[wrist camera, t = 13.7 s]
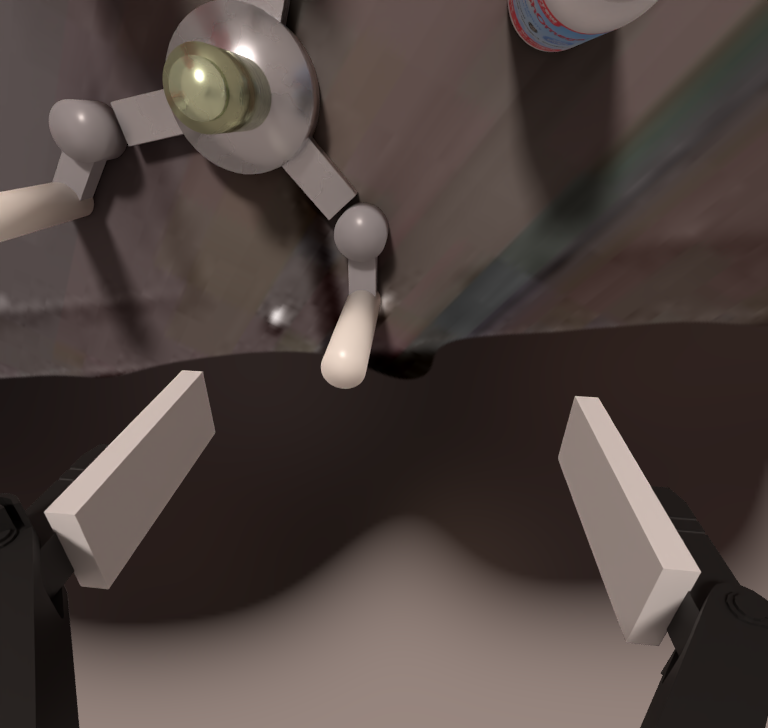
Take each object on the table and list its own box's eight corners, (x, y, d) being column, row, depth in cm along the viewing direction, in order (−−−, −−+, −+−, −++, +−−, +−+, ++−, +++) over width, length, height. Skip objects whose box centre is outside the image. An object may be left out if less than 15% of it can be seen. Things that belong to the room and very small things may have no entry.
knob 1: (83, 87, 29) (-82, 74, 20) (134, 124, 30) (0, 129, 21) (48, 197, 33) (-106, 231, 23) (94, 227, 34) (-35, 272, 24)
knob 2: (338, 201, 32) (302, 239, 22) (389, 203, 31) (375, 242, 22) (342, 313, 36) (313, 387, 26) (386, 315, 36) (374, 390, 26)
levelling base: (421, -21, 26) (422, -73, 18) (348, 223, 33) (328, 253, 25) (131, -148, 24) (7, -259, 17) (119, 138, 31) (29, 145, 24)
